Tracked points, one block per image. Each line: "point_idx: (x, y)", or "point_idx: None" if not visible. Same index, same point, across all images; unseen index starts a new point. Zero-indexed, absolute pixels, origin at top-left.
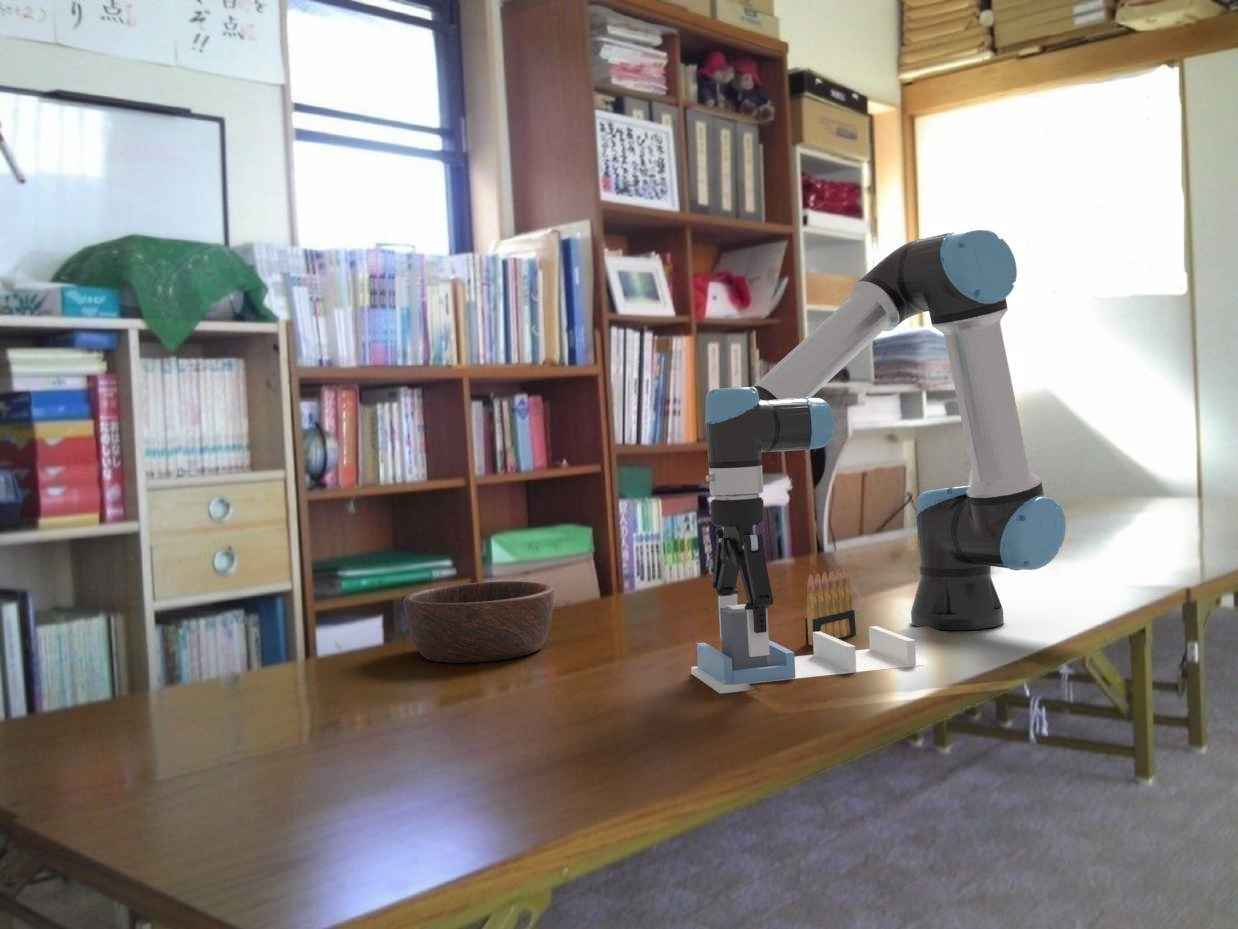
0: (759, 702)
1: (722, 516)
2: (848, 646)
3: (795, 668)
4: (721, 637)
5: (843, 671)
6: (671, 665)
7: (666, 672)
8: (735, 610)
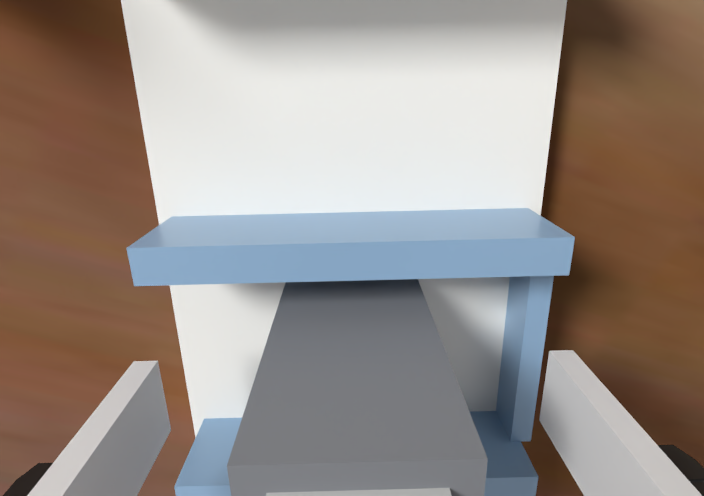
0: (663, 368)
1: None
2: None
3: (377, 154)
4: (162, 441)
5: None
6: (53, 461)
7: (156, 491)
8: None
